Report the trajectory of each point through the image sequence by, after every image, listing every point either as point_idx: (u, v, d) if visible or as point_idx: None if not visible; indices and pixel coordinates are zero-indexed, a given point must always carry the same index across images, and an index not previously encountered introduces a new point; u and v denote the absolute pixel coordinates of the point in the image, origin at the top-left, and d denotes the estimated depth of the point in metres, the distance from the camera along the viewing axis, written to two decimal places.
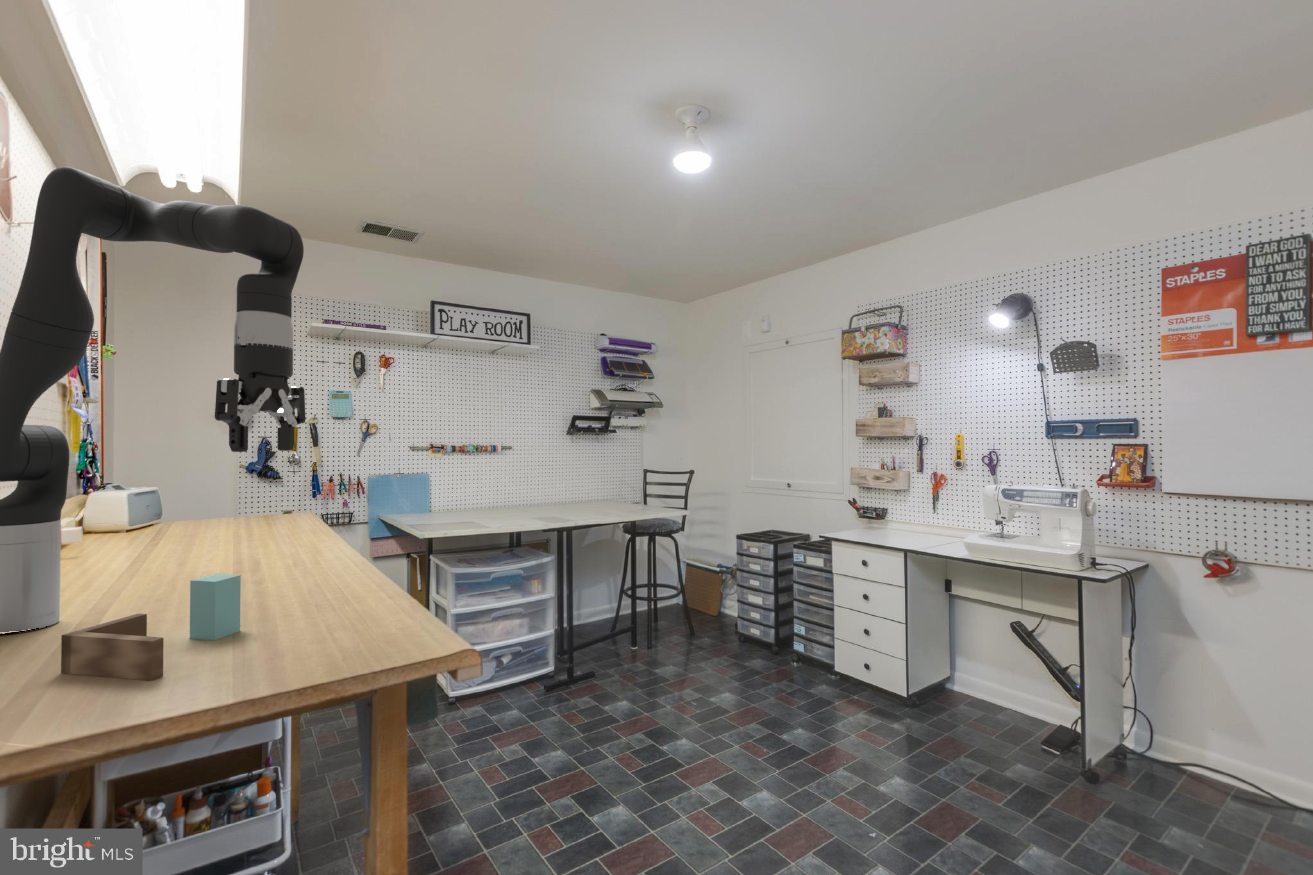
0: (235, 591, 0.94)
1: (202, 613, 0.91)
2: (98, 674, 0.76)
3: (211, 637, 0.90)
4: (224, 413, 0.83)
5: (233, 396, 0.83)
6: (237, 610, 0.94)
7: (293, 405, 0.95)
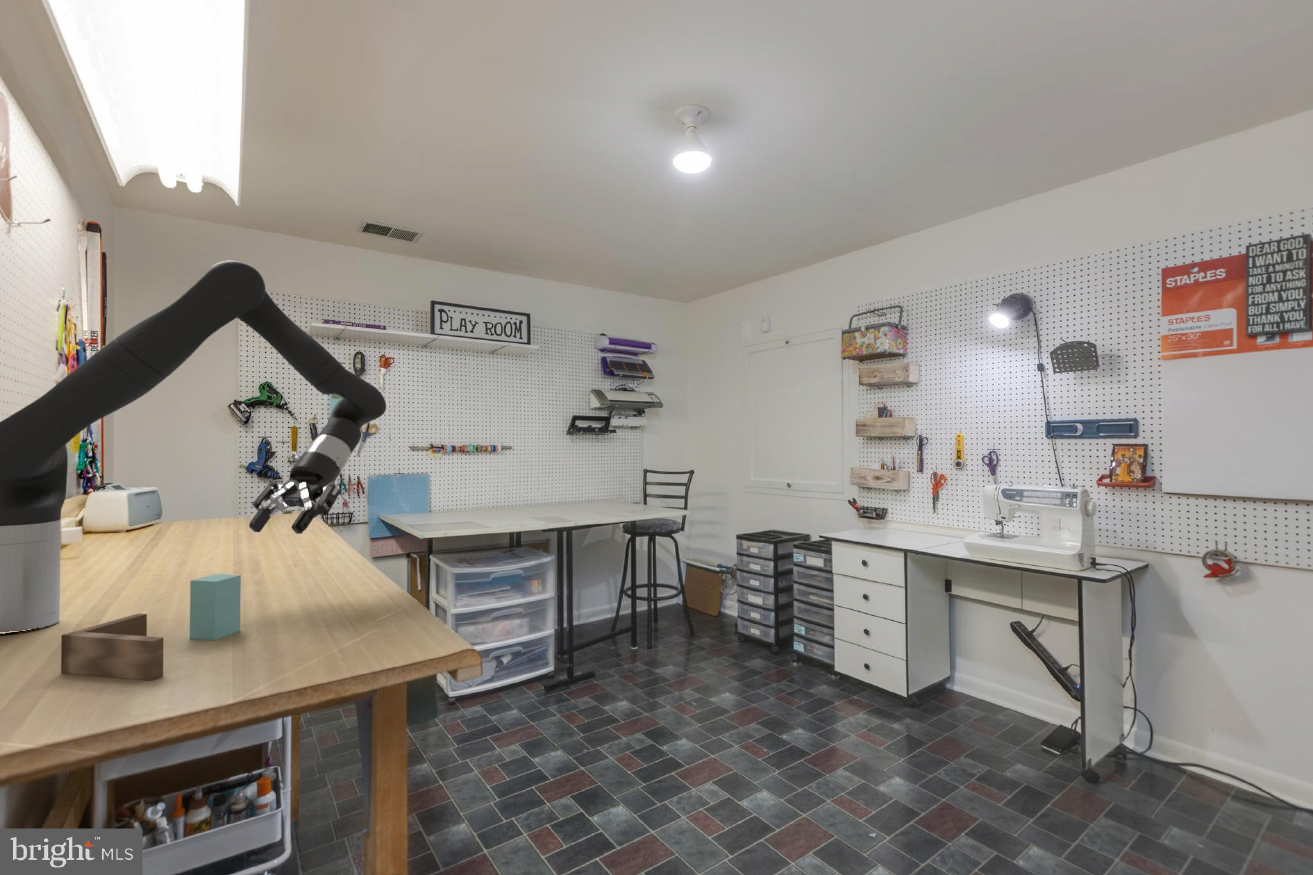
0: (235, 591, 0.94)
1: (202, 612, 0.91)
2: (98, 674, 0.76)
3: (211, 637, 0.90)
4: (325, 507, 1.07)
5: None
6: (237, 610, 0.94)
7: (270, 498, 1.10)
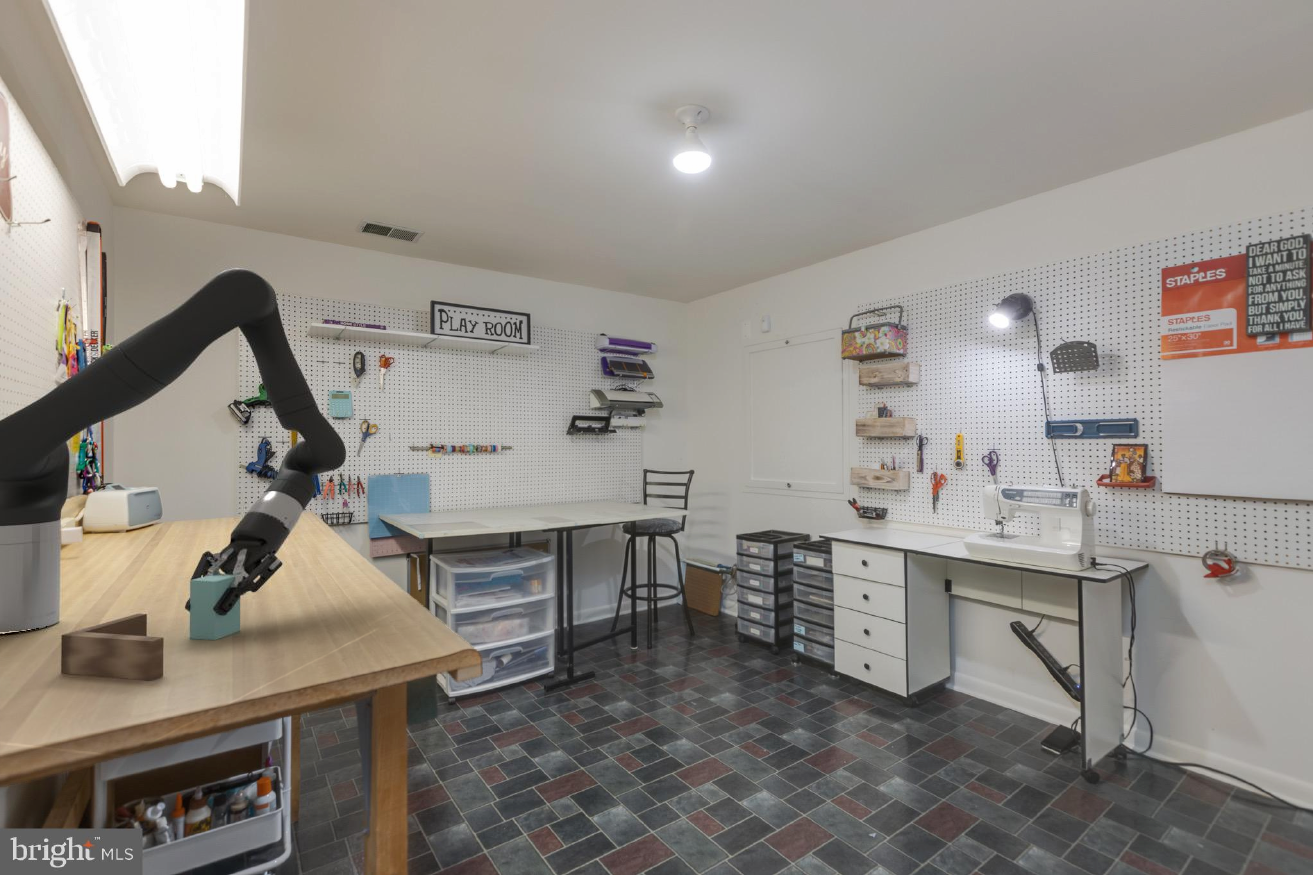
0: None
1: (202, 612, 0.91)
2: (98, 674, 0.76)
3: (211, 637, 0.90)
4: (255, 583, 0.94)
5: None
6: (237, 610, 0.94)
7: (209, 570, 0.97)
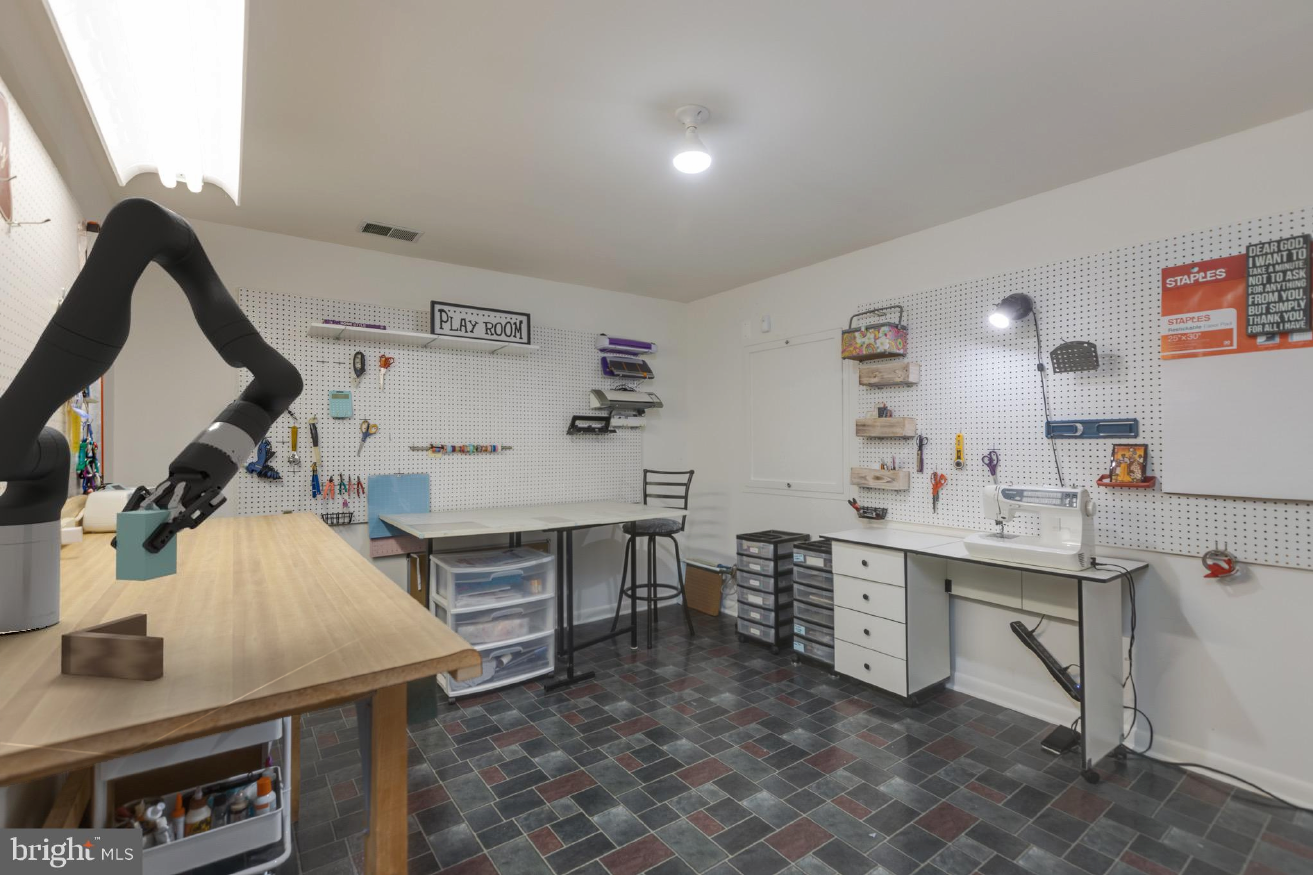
0: None
1: (129, 550, 0.79)
2: (98, 674, 0.76)
3: (140, 577, 0.79)
4: (193, 519, 0.82)
5: None
6: (172, 549, 0.82)
7: None
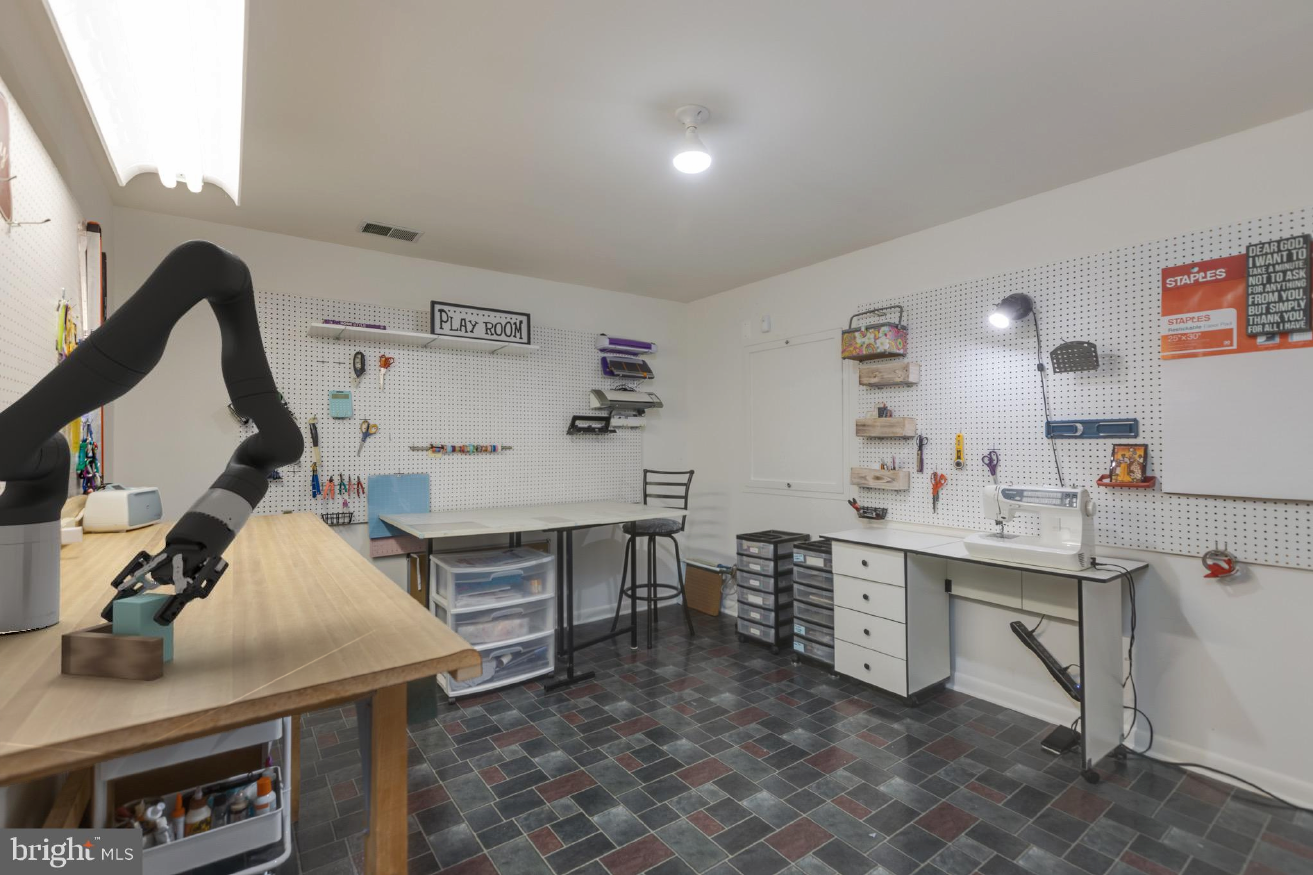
0: None
1: None
2: (98, 674, 0.76)
3: None
4: (204, 589, 0.82)
5: None
6: (169, 635, 0.82)
7: None
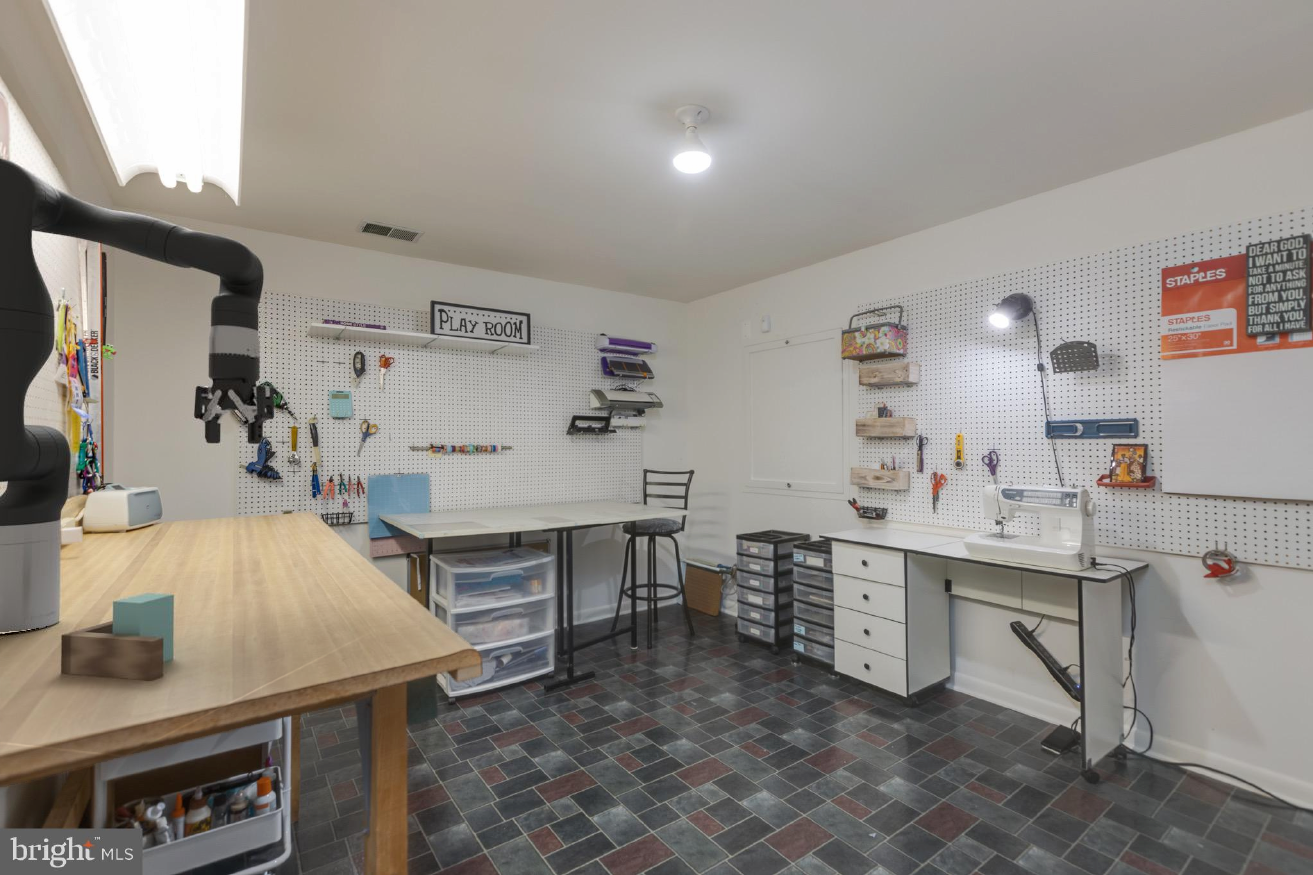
0: (166, 613, 0.82)
1: None
2: (98, 674, 0.76)
3: None
4: (268, 413, 1.05)
5: None
6: (169, 635, 0.82)
7: (207, 403, 1.07)
